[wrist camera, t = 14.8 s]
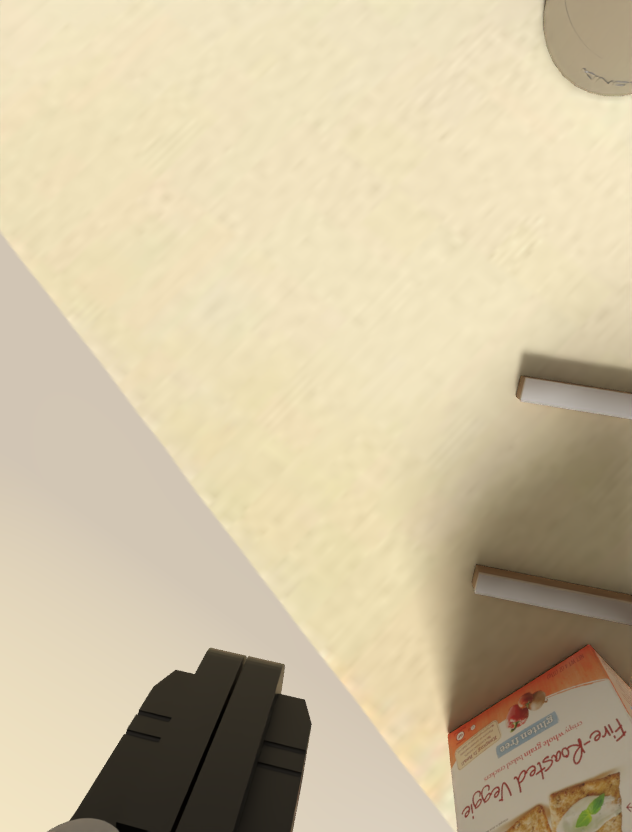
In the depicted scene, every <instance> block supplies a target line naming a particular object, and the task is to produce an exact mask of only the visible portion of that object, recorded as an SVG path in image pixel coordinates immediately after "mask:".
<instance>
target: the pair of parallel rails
mask: <svg viewBox="0 0 632 832" xmlns="http://www.w3.org/2000/svg"><path fill="white" fill-rule="evenodd" d="M516 397H517V398H518V399H519V400H520V401H522V402H528V403H534V404H540V405H546V406H552V407H559V408H565V409H571V410H577V411H583V412H589V413H595V414H602V415H608V416H614V417H620V418H626V419H632V393H629V392H623V391H617V390H610V389H604V388H598V387H591V386H585V385H579V384H572V383H566V382H560V381H553V380H547V379H541V378H534V377H528V376H522V375H521V377H520V381H519V385H518V389H517V394H516ZM472 584H473V588H474V593H475V594H480V595H485V596H490V597H495V598H500V599H505V600H510V601H514V602H519V603H524V604H529V605H534V606H539V607H544V608H549V609H554V610H559V611H564V612H568V613H573V614H578V615H583V616H588V617H593V618H598V619H603V620H608V621H613V622H618V623H623V624H627V625H632V595H628V594H623V593H618V592H613V591H608V590H603V589H598V588H593V587H588V586H583V585H578V584H573V583H568V582H563V581H557V580H552V579H547V578H542V577H537V576H532V575H527V574H522V573H517V572H512V571H507V570H502V569H497V568H492V567H487V566H482V565H476V567H475V571H474V575H473V579H472Z"/></svg>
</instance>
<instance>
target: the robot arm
mask: <svg viewBox="0 0 632 832" xmlns="http://www.w3.org/2000/svg"><path fill="white" fill-rule="evenodd" d="M544 34H545V39H546V45H547V48H548V51H549V53H550V56H551V58H552V60H553V62H554V64H555V65H556V67H557V68H558V69H559V71H560V72H561V74H562V75H563V76H564V77H565V78H567V79H568V80H569V81H570V82H571V83H573V84H574V85H575V86H577V87H579V88H581V89H583V90H585V91H587V92H589V93H594V94H598V95H603V96H624V95H628V94H632V0H546V5H545V9H544ZM284 669H285V665H284V664H281V663H276V662H272V661H267V660H263V659H259V658H254V657H250V656H249V657H248V658H247V657H246V656H245V655H240V654H236V653H231V652H227V651H223V650H218V649H214V648H209V650H208V651H207V652H206V654H205V656H204V658H203V660H202V662H201V664H200V665H199V667H198V669H197V671H196V673H195V674H191V673H187V672H183V671H178V670H175V671H174V672H172V673H171V674H170V675H168V676H167V677H166V678H164V679H163V680H162V681H160V682H159V683H158V684H156V685H155V686H154V687H153V689H152V690H151V692H150V693H149V695H148V696H147V698H146V700H145V701H144V703H143V704H142V706H141V708H140V709H139V713H138V715H136V716H135V717H134V719H133V720H132V722H131V724H130V725H129V727H128V729H127V732H126V734H124V735H123V737H122V738H121V740H120V741H119V743H118V745H117V746H116V748H115V750H114V751H113V753H112V754H111V756H110V758H109V759H108V761H107V762H106V764H105V766H104V767H103V769H102V770H101V772H100V774H99V775H98V777H97V778H96V780H95V782H94V783H93V785H92V787H91V788H90V790H89V792H88V793H87V795H86V796H85V798H84V799H83V801H82V803H81V804H80V806H79V808H78V809H77V811H76V812H75V814H74V815H73V817H72V818H71V819H70V821H68V822H65V823H63V824H60V825H58V826H56V827H54V828H52V829H51V830H49V831H48V832H292V831H293V827H294V821H295V816H296V811H297V806H298V800H299V795H300V789H301V783H302V778H303V772H304V765H305V760H306V754H307V748H308V742H309V736H310V730H311V725H312V724H311V721H310V717H309V713H308V709H307V706H306V702H305V700H304V699H299V698H295V697H291V696H287V695H282V694H281V690H282V683H283V677H284Z"/></svg>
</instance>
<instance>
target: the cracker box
mask: <svg viewBox="0 0 632 832" xmlns="http://www.w3.org/2000/svg"><path fill="white" fill-rule="evenodd" d="M448 744H449V753H450V764H451V773H452V783H453V792H454V802H455V811H456V820H457V831H458V832H632V689H631V688H630V687H629V686H628V685H627V684H626V683H625V682H624V681H623V680H622V679H621V678H620V677H619V676H618V675H617V674H616V672H615V671H614V670H613V669H612V668H611V667H610V666H609V665H608V664H607V663H606V662H605V661H604V660H603V659H602V657H601V656H600V655H599V654H598V653H597V652H596V651H595V650H594V649H593V648H592V646H591V645H587V646H586V647H584V648H582V649H581V650H579V651H578V652H576V653H575V654H573V655H572V656H570V657H569V658H567V659H566V660H564V661H563V662H561V663H559V664H558V665H556V666H555V667H553V668H551V669H550V670H549V671H547V672H545V673H544V674H542V675H541V676H539V677H537V678H536V679H534V680H533V681H531V682H530V683H528V684H526V685H525V686H523V687H522V688H520V689H519V690H517V691H516V692H514V693H512V694H511V695H509V696H507V697H506V698H504V699H503V700H501V701H500V702H498V703H497V704H495V705H494V706H492V707H490V708H489V709H487V710H486V711H484V712H483V713H481V714H480V715H478V716H476V717H475V718H473V719H472V720H470V721H468V722H467V723H465V724H464V725H462V726H461V727H459V728H457V729H456V730H454V731H453V732H451V733H450V734H448Z"/></svg>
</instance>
